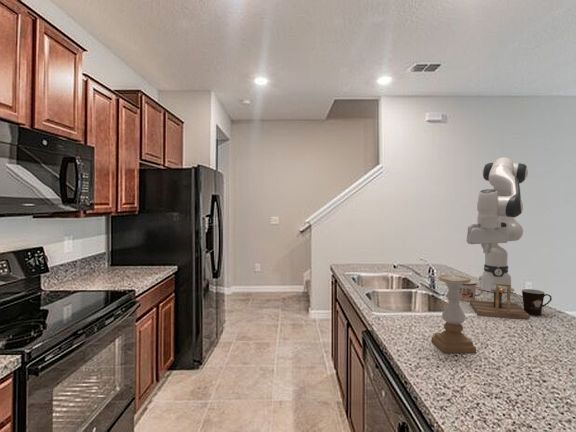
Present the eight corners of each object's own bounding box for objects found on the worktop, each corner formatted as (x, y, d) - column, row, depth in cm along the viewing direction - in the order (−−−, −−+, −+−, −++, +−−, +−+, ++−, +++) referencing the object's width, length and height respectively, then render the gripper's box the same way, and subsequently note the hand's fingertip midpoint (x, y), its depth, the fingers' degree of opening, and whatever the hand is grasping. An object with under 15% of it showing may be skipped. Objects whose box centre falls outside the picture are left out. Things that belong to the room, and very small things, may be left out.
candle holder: (461, 341, 140) (462, 274, 139) (476, 353, 129) (478, 280, 128) (430, 341, 140) (431, 274, 139) (444, 353, 129) (445, 281, 128)
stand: (469, 304, 191) (470, 274, 190) (515, 307, 185) (516, 277, 185) (477, 315, 172) (478, 283, 171) (529, 319, 166) (530, 285, 166)
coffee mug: (521, 314, 173) (522, 292, 173) (520, 309, 181) (521, 288, 180) (553, 318, 168) (554, 295, 167) (550, 313, 175) (551, 291, 175)
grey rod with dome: (486, 285, 190) (486, 280, 190) (499, 286, 188) (499, 280, 188) (494, 294, 171) (494, 288, 171) (508, 295, 170) (509, 289, 169)
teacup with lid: (455, 300, 198) (455, 277, 197) (456, 296, 206) (457, 274, 206) (482, 303, 192) (482, 279, 192) (482, 299, 201) (482, 276, 200)
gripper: (472, 224, 180) (472, 254, 180) (511, 223, 184) (510, 253, 185) (463, 223, 186) (463, 252, 187) (501, 222, 190) (500, 251, 191)
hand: (487, 253), depth 186 cm, fingers closed
